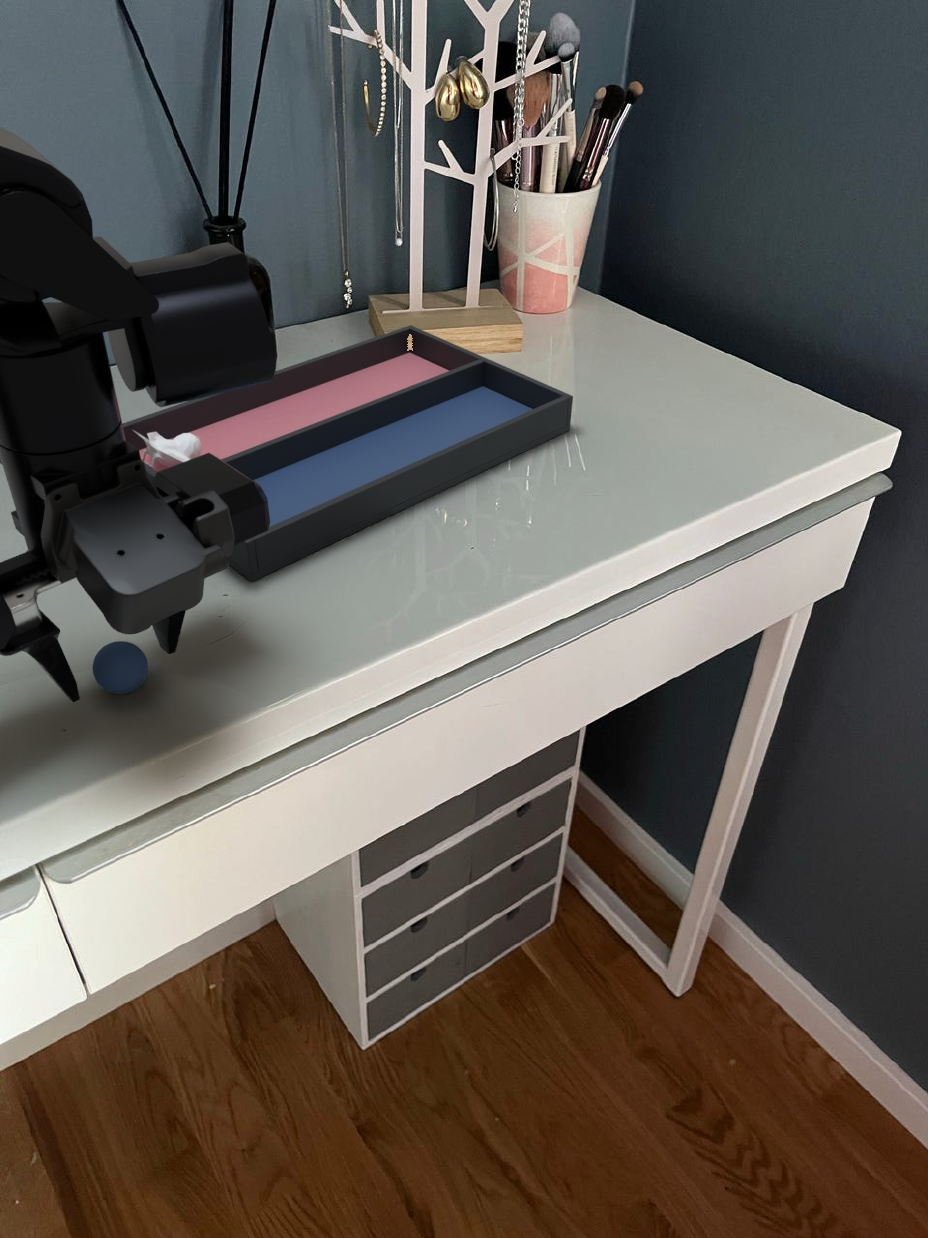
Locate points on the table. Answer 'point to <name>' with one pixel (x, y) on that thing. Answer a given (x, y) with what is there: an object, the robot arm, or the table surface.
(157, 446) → the white bird figurine
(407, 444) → the tray
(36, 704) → the table surface
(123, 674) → the slate ball
